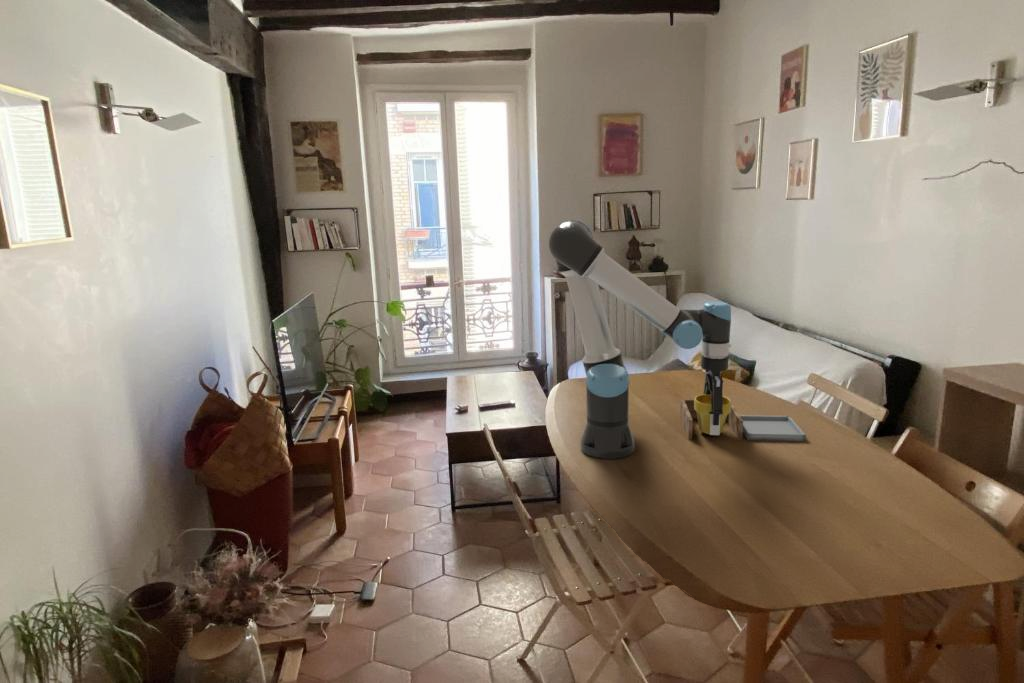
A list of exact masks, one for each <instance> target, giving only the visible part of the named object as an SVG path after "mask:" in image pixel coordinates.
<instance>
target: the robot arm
mask: <svg viewBox="0 0 1024 683" xmlns="http://www.w3.org/2000/svg"><path fill="white" fill-rule="evenodd" d="M548 248H549V252H550V254H551V256H552V257H553V258H554V259H555V263H556V267H557V270H558V273H559V274H560V275H562V276H564V277H565V280H566V283H567V284H566V285H567V287H568V291H569V295H570V298H571V303H572V307H573V310H574V315H575V318H576V322H577V325H578V328H579V332H580V337H581V340H582V341H581V342H582V344H583V345H582V346H583V347H584V351H585V354H584V356H583V358H582V365H583V367H584V368H583V369H584V372H585V375H586V376H585V386H586V424H585V426H584V428H583V429H584V430H583V433H582V436H581V438H580V450H581V451H582V453H584V454H585V455H587V456H589V457H593V458H595V459H596V458H597V459H603V460H605V459H606V460H613V459H617V460H618V459H622V458H625V457H628V456H630V455H632V454H633V453H634V452H635V438H634V436H633V433H632V430H631V428H630V424H629V396H630V394H629V392H630V391H629V390H630V389H629V387H630V377H629V373H628V370H627V368H626V366H625V364H624V361H623V360H624V359H623V356H622V352H621V350H620V349H619V348H617V347H616V346H615V345H614V342H613V337H612V333H611V330H610V326H609V325H610V324H609V323H608V319H607V318H608V317H607V314H606V311H605V307H604V302H603V298H602V294H601V291H600V287H601V288H603V289H604V290H605V291H607V292H608V293H609V294H611V295H612V296H613V297H615V299H618V300H619V301H620V302H622V303H623V304H625V305H626V306H627V307H629V308H630V309H631V310H633V311H634V312H635V313H637V315H640V316H641V317H642V318H643V319H645V320H646V321H648V322H649V323H650V324H652V325H653V326H654V327H656V328H657V329H658V330H659V331H660V333H661V334H662V335H663V336H667V337H669V338H670V339H671V340H673V341H674V343H675V344H676V346H678V347H680V348H682V349H685V350H692V349H694V348H696V347H697V346H698V345H700V344H701V353H700V354H701V355H702V356H701V358H700V359H701V360H700V361H701V362H700V368H701V369H702V370H704V371H705V376H704V377H705V378H704V385H703V393H702V394H708V395H711V410H712V411H711V412H709V414H710V432H709V434H708V435H709V436H720V434H721V433H720V418H721V414H723V405H722V396H723V386H724V384H723V383H724V380H723V377H722V375H721V373H722V372H726V371H727V370H728V369H729V355H730V354H729V353H730V349H731V348H732V344H730V338H731V325H732V324H731V322H732V306H731V305H730V304H729V303H727V302H723V301H707V302H705V303H704V305H703V307H702V308H701V309H680V308H679V307H677V306H676V305H675V304H673V303H672V302H670V301H669V300H668V299H666V298H665V297H664V296H662V295H661V294H659V293H658V292H657V291H656V290H654V288H652V287H651V286H649V285H647V284H646V282H644V281H642V280H641V279H639V277H637V276H636V275H634V274H633V273H632V272H630V271H629V270H628V269H626V268H625V267H624V266H623V265H621V264H619V263H618V262H617V261H615V260H614V259H613V258H612V257H610V256H609V255H608V254H606V253H605V248H604V247H603V246H602V245H600V244H599V243H598V242H597V241H596V240H594V235H593V233H592V231H591V230H590V228H589V227H588V225H587V224H585V223H583V222H582V221H581V220H580V221H579V220H574V219H571V220H566V221H564V222H561V223H560V224H559V225H557V226H556V227H555V228H554V229H553V230H552V232H551V234H550V236H549V238H548Z"/></svg>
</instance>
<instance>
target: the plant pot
mask: <svg viewBox="0 0 1024 683" xmlns="http://www.w3.org/2000/svg"><path fill="white" fill-rule="evenodd" d="M693 399H694V409H695V411H696V412H697V418H696V419H697V424H698V425H697V426H698V429H699V431H700V432H701V433H704V434H707V435H710V434H709V432H710V414H709V412H711V411H712V410H711V395H708V394H703V393H702V394H699V395H697V396H695V397H694V398H693ZM731 403H732V400H731V399H730V398H729V397H727V396H725V395H722V405H723V414H721V418H720V434H721V433H722V432H723V431H724V430H723V429H724V427H725V425H726V424H725V423H726V421H727V419H726V418H727V415H728V414H729V413H730V410H731Z"/></svg>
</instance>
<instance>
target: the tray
mask: <svg viewBox="0 0 1024 683" xmlns="http://www.w3.org/2000/svg"><path fill="white" fill-rule="evenodd" d="M739 415H740V417H741V418H742V420H743V432H742V434H744V436H745V438H746V439H747V441H762V442H763V441H766V442H767V441H769V442H771V441H772V442H806V433H805V432H804V431H803V430H802V429H801V427H800V426H799V425H798V424H797V423H796V422H795V421H794V419H793V418H792V417H791V416H790V415H761V414H759V415H758V414H756V415H755V414H754V415H751V414H750V415H749V414H748V415H746V414H739Z"/></svg>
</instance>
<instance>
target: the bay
mask: <svg viewBox="0 0 1024 683" xmlns="http://www.w3.org/2000/svg"><path fill="white" fill-rule="evenodd" d="M694 399H695V398H692V399H691V398H688V399H687V398H683V399H680V417H679V418H680V419H681V420H680V421H681V422H682V425H683V428H684V430H685V433H686V436H687V438H688V440H690V441H691V440H693V423H694V421H693V419H698V418H697V412H696V411H695V409H694ZM740 415H741V414H739V411H738V410H737V409H736V407H735V406H734V405H733V403H732V402H731V410H730V413H729V414H728V415H727V418H726V421H727V423H728V425H729V426H730V428H731V430H732V432H733V433H734V435H735V437H736V439H737V441H743V420H742V418H741V417H740Z"/></svg>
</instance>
